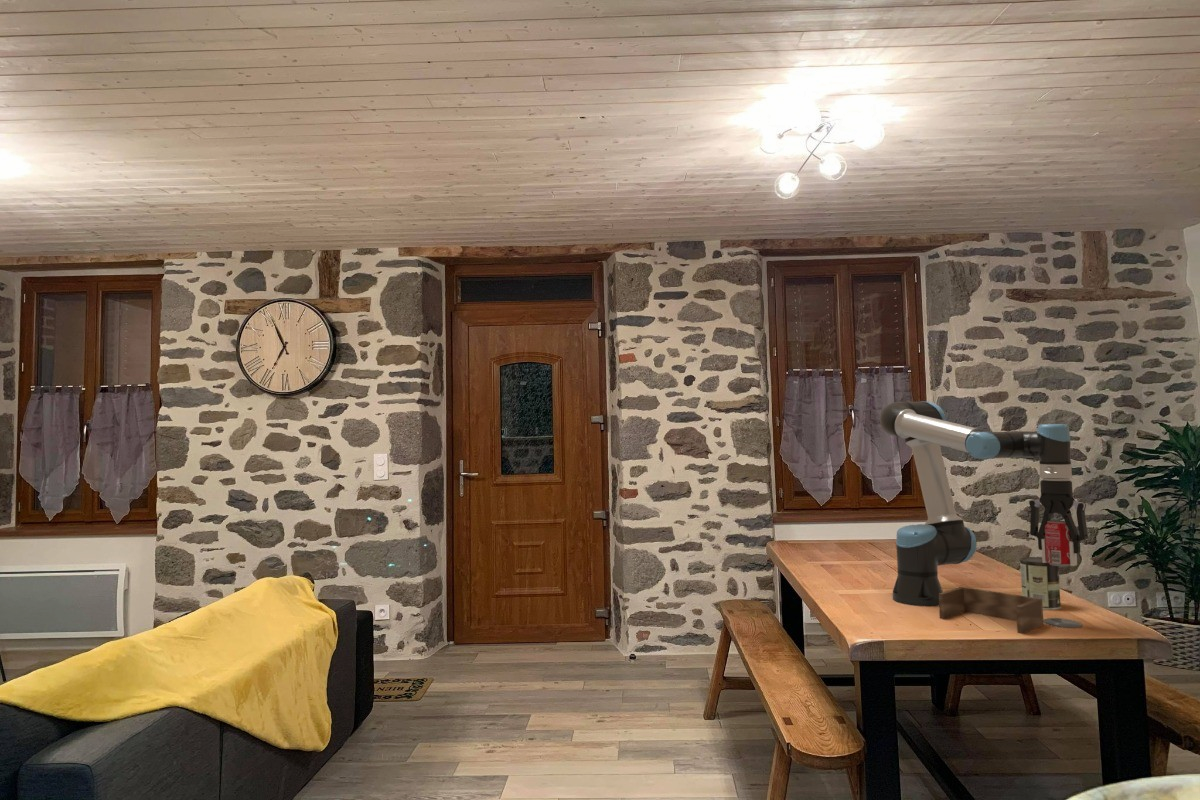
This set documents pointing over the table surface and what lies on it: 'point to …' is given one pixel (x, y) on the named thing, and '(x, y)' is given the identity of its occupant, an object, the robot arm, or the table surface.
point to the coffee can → (1040, 581)
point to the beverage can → (1057, 543)
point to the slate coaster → (1062, 623)
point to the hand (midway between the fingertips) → (1059, 563)
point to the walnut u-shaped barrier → (993, 606)
